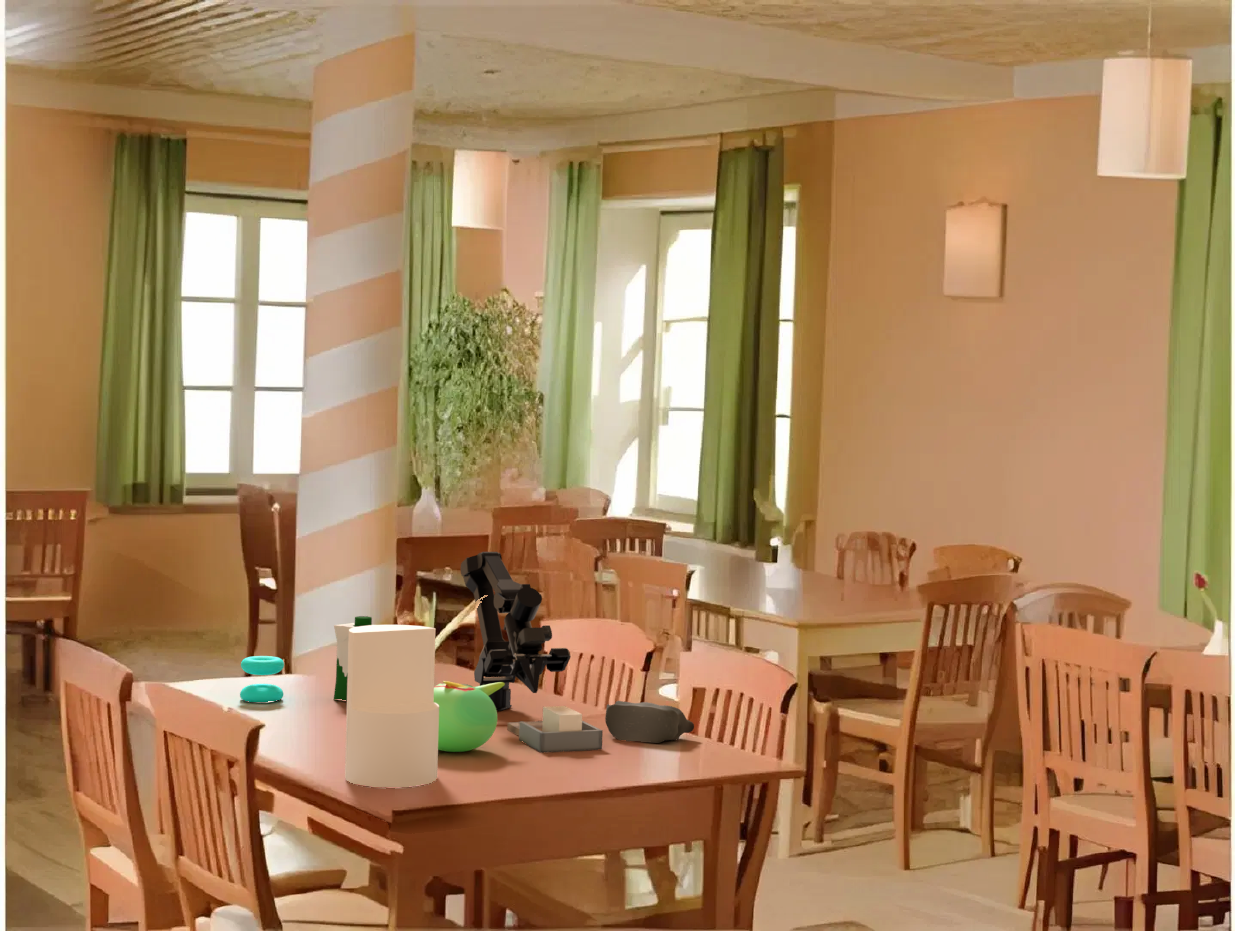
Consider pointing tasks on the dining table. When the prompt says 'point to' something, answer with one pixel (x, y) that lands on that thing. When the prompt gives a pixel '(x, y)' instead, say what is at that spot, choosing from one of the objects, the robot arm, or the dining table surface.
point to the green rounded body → (465, 715)
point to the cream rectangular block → (561, 719)
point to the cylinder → (391, 706)
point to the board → (514, 726)
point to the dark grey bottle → (646, 722)
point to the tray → (561, 738)
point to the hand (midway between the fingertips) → (535, 692)
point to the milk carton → (345, 654)
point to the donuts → (261, 667)
